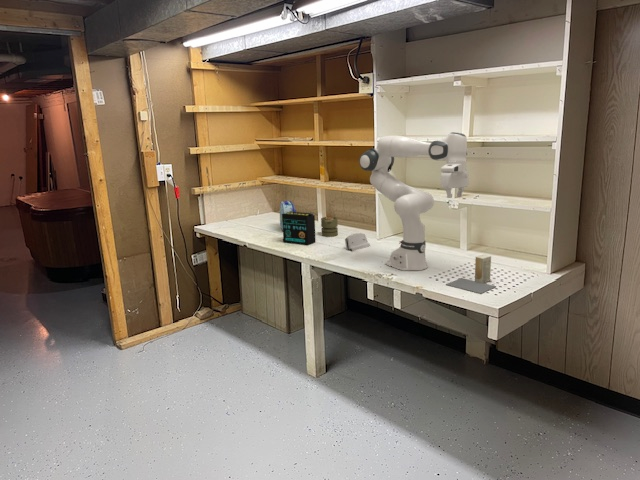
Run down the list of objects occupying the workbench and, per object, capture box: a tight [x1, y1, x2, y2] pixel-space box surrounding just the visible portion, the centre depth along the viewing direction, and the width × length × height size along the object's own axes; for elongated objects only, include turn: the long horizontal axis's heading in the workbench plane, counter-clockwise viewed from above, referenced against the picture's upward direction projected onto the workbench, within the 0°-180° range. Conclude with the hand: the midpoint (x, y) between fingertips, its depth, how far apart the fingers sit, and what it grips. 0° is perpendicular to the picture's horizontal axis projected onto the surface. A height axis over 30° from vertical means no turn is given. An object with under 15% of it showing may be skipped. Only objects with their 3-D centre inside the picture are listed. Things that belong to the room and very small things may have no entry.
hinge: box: [344, 232, 371, 252], centre depth 295 cm, size 17×5×10 cm, turn 132°
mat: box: [445, 277, 497, 295], centre depth 219 cm, size 18×13×1 cm
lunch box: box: [279, 200, 297, 231], centre depth 353 cm, size 26×11×21 cm, turn 10°
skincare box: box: [474, 254, 492, 283], centre depth 224 cm, size 6×4×12 cm
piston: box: [320, 216, 339, 238], centre depth 331 cm, size 11×12×11 cm
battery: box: [282, 211, 316, 246], centre depth 311 cm, size 19×10×20 cm, turn 59°
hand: (454, 197), depth 226 cm, fingers open, 8 cm apart
